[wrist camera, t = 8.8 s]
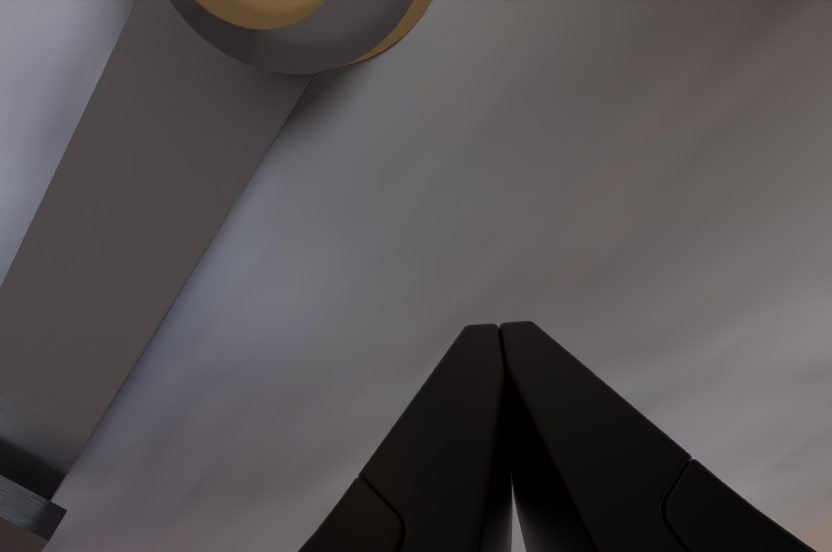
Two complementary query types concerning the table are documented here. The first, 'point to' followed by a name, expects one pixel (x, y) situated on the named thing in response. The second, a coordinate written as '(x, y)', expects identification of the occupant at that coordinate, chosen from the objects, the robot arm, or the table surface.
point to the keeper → (25, 518)
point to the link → (146, 206)
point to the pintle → (298, 16)
